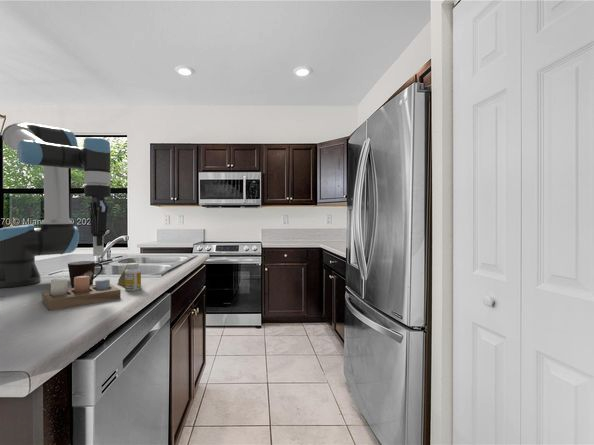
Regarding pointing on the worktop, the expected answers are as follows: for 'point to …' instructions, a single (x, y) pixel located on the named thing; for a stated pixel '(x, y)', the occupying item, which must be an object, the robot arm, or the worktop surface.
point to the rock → (122, 277)
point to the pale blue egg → (102, 284)
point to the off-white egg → (59, 287)
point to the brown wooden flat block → (80, 297)
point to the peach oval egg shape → (81, 284)
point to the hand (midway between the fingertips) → (98, 255)
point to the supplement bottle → (132, 277)
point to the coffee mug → (82, 270)
